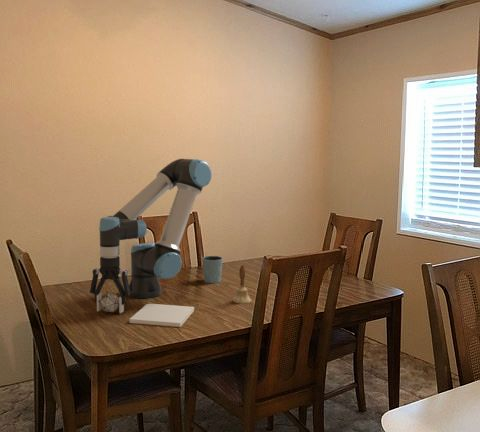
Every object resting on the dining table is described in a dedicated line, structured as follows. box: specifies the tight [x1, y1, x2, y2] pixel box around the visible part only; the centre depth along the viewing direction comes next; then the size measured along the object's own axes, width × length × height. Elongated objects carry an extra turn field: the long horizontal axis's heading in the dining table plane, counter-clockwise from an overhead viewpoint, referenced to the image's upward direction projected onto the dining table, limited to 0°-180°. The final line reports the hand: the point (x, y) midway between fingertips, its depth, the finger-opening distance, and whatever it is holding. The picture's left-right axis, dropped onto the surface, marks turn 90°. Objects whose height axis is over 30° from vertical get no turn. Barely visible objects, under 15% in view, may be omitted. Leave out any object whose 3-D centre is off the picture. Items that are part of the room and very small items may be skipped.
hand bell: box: [232, 264, 252, 305], centre depth 222 cm, size 8×8×16 cm
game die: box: [98, 291, 119, 315], centre depth 204 cm, size 9×8×10 cm
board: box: [128, 303, 195, 328], centre depth 200 cm, size 20×20×2 cm
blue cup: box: [201, 255, 224, 284], centre depth 254 cm, size 10×10×12 cm
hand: (110, 311), depth 204 cm, fingers closed on game die, 9 cm apart
